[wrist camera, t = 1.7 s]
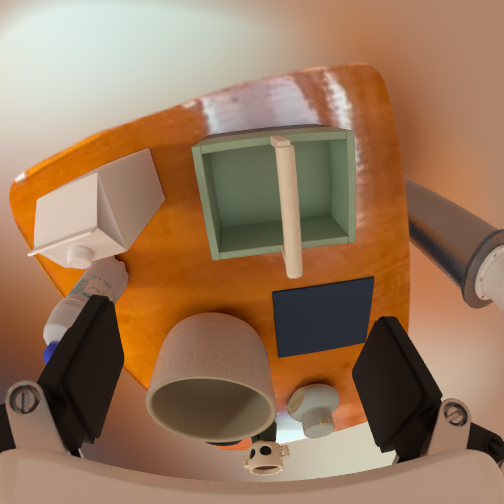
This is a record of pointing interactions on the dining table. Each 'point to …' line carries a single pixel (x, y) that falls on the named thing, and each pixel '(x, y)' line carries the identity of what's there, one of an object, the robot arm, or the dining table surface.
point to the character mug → (265, 453)
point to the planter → (212, 380)
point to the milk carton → (98, 212)
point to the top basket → (277, 192)
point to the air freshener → (314, 409)
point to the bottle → (85, 298)
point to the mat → (322, 316)
